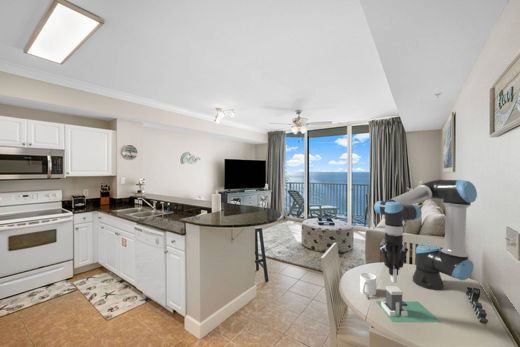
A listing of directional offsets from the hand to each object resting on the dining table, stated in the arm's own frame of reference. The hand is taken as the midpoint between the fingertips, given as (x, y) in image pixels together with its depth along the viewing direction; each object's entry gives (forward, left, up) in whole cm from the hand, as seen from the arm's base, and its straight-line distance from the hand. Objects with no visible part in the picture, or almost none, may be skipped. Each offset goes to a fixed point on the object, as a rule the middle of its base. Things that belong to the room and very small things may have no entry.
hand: (393, 281), depth 109 cm
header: (0, 0, -15) cm, 15 cm away
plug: (0, 0, -15) cm, 15 cm away
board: (-6, 0, -16) cm, 17 cm away
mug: (+6, -16, -16) cm, 24 cm away
